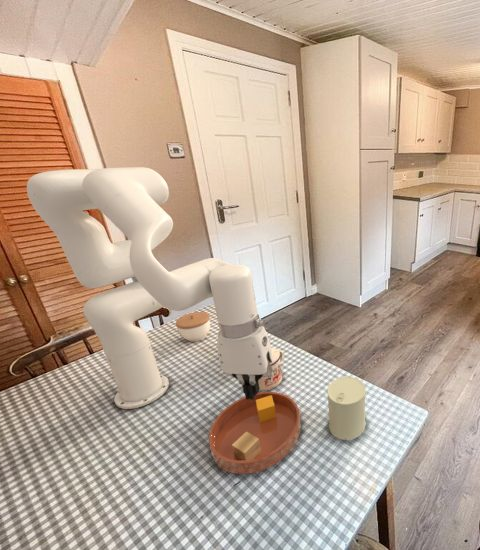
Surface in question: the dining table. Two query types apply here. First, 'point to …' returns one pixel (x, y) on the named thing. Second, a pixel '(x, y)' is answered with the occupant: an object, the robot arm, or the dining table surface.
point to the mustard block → (265, 408)
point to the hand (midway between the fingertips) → (252, 394)
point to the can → (346, 407)
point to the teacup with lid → (276, 375)
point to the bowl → (255, 433)
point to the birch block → (246, 447)
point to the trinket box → (194, 326)
